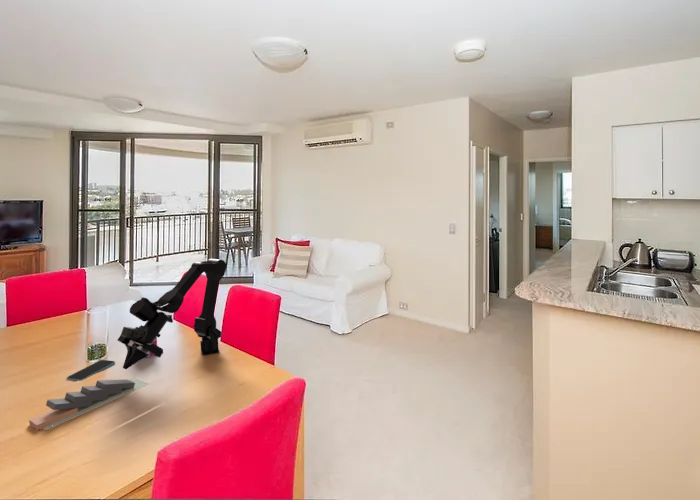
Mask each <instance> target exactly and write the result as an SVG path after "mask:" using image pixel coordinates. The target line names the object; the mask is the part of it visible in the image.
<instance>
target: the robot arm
mask: <svg viewBox="0 0 700 500" xmlns="http://www.w3.org/2000/svg"><path fill="white" fill-rule="evenodd" d="M227 267H228V266H227V263H226V261H225V260H223V259H218V258H209V259H208V260H204V261H195V262H192V264H191V267H190V268H189V269H188V270H186V272H185V273H184V275H183V276H182V277H181V278H180V280H179V281H178V282H177V283H176V284H175V286H174V287H173V288H172V289H170V290H169V291H167V292H165V293H164V294H163V295H162V296H161V297H160V298H158V300H155V301H153V302H152V301H150V300H149V299H148V298H147V297H144V296H142V297H141V299H139V300H137V301H136V302H133V304H131V306H130V308H129V313H130V314H131V315H132V316H134V317H136V318H137V319H139V320H140V321H142V322H145V324H144V325H139V326H135V327H129V326H123V328H122V330H121V334H120V336H119V337H118V338H117V341H118V342H119V343H121V344H123V345H125V348H126V350H127V352H126V355H125V356H126V357H125V360H124V363H123V365H122V369H124V370H127V369H130V367H132V366H133V365H136V363H138V362H140V361H141V360H143V359H145V357H146V356H149V355H148V353H149V352H151V353H153V354H154V355H153V356H154V357H156V358H161V357H162V355H163V354H164V349H163V348H162V347H160V346H159V345H158V344H157V345H155V344H153V341H154V340H155V338H156V337H157V338H160V336H161V333H160V332H161V331H162V329H163V328H164V327H165V325H166V324H167V323H171V324H172V323H173V322H174V320H173V315H172V314H175V313H177V312H178V311H179V310H180V308H181V307H182V305H183V303H184V299H185V296H186V294H187V293H188V291H189V290H191V288H192V287H193V286H194V284H195V283H196V282H197V280H198V279H199V278H200V277H201V276H202V274H203V273H204V274H205V276H206V277H205V278H206V285H205V290H204V297H203V301H202V307H201V313H200V315H199V316H198V317H195V318H194V323H193V326H192V327H193V331H194V333H195V334H196V335H197V336H198V338H201V340H199V343H200V353H201V354H202V355H203V356H204V355H205V356H206V355H210V354H217V353H220V349H219V338H221V337H222V333H223V332H222V331H221V330H220V329H218V328H217V320H216V316H215V311H216V310H215V309H216V305H217V297H218V292H219V287H220V286H219V285H220V282H221V280H222V278H223V277H224V275H225V273H226V270H227ZM166 313H167V314H166ZM168 313H169V314H168Z"/></svg>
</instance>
